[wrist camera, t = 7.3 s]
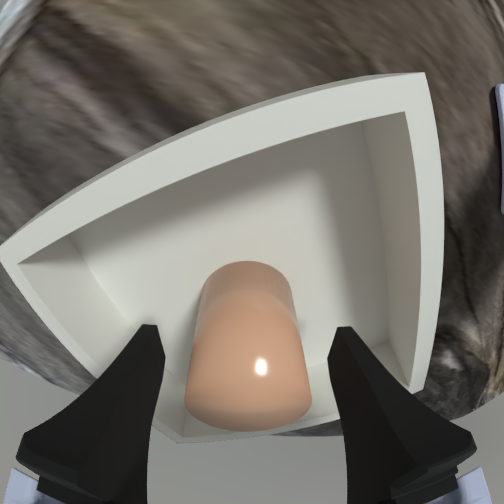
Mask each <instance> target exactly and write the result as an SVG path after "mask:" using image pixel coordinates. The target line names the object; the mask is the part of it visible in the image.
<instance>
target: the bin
mask: <svg viewBox="0 0 504 504" xmlns="http://www.w3.org/2000/svg"><path fill="white" fill-rule="evenodd" d="M443 254H444V199H443V182H442V169H441V159H440V151H439V143H438V136H437V129H436V123H435V118H434V112H433V107H432V102H431V97H430V93H429V89H428V84H427V80H426V76H425V73H396V74H381V75H369V76H361V77H356V78H351V79H346V80H341V81H336V82H332V83H328V84H323V85H319V86H315V87H311V88H307V89H303V90H300V91H296V92H292V93H289V94H285V95H282V96H279V97H275V98H272V99H269V100H266V101H262V102H259V103H256V104H253V105H250V106H247V107H244V108H242V109H239V110H236V111H233V112H230V113H228V114H225V115H222V116H220V117H217V118H215V119H212V120H210V121H207V122H205V123H202V124H200V125H197V126H195V127H192V128H190V129H188V130H185V131H183V132H181V133H179V134H176V135H174V136H172V137H170V138H167V139H165V140H163V141H161V142H159V143H157V144H155V145H153V146H151V147H149V148H147V149H144V150H142V151H140V152H139V153H137V154H135V155H133V156H131V157H129V158H127V159H125V160H123V161H121V162H119V163H118V164H116V165H114V166H112V167H110V168H109V169H107V170H105V171H103V172H101V173H100V174H98V175H96V176H95V177H93V178H91V179H90V180H88V181H86V182H85V183H83V184H81V185H80V186H78V187H76V188H75V189H73V190H72V191H70V192H69V193H67V194H65V195H64V196H62V197H61V198H59V199H58V200H56V201H55V202H53V203H52V204H50V205H49V206H48V207H46V208H45V209H44V210H42V211H41V212H40V213H38V214H37V215H36V216H35V217H33V218H32V219H31V220H30V221H28V222H27V223H26V224H25V225H24V226H22V227H21V228H20V229H19V230H18V231H16V232H15V233H14V234H13V235H12V236H11V237H10V238H8V239H7V240H6V241H5V242H4V243H3V244H2V245H1V246H0V261H1V263H2V265H3V266H4V268H5V269H6V271H7V272H8V274H9V275H10V277H11V278H12V280H13V281H14V283H15V284H16V286H17V287H18V289H19V290H20V291H21V293H22V294H23V296H24V297H25V298H26V300H27V301H28V302H29V304H30V305H31V306H32V308H33V309H34V310H35V312H36V313H37V314H38V315H39V317H40V318H41V319H42V320H43V322H44V323H45V324H46V325H47V326H48V328H49V329H50V330H51V331H52V332H53V334H54V335H55V336H56V337H57V338H58V339H59V340H60V342H61V343H62V344H63V345H64V346H65V347H66V348H67V349H68V350H69V351H70V352H71V354H72V355H73V356H74V357H75V358H76V359H77V360H78V361H79V362H80V363H81V364H82V365H83V366H84V367H85V368H86V369H87V370H88V371H89V372H90V373H91V374H92V375H93V376H94V377H95V378H96V379H98V378H99V377H100V376H101V374H102V373H103V372H104V371H105V370H106V369H107V368H108V367H109V366H110V364H111V363H112V362H113V361H114V360H115V358H116V357H117V356H118V355H119V353H120V352H121V351H122V350H123V349H124V347H125V346H126V345H127V343H128V342H129V341H130V340H131V338H132V337H133V336H134V334H135V333H136V332H137V330H138V329H139V328H140V326H141V325H142V324H150V325H157V327H158V331H159V334H160V338H161V342H162V346H163V349H164V353H165V356H166V359H165V367H164V374H163V380H162V384H161V388H160V392H159V396H158V400H157V404H156V408H155V412H154V416H153V420H152V426H154V427H155V428H156V429H158V430H159V431H161V432H162V433H163V434H165V435H166V436H168V437H169V438H170V439H172V440H173V441H175V442H176V443H198V442H213V441H225V440H234V439H241V438H250V437H257V436H264V435H270V434H276V433H281V432H287V431H292V430H297V429H301V428H306V427H310V426H314V425H319V424H323V423H326V422H330V421H334V420H338V419H340V416H339V412H338V408H337V405H336V401H335V397H334V393H333V390H332V386H331V382H330V377H329V370H328V362H327V357H328V354H329V351H330V348H331V345H332V342H333V339H334V336H335V333H336V329H337V327H344V326H351V327H352V328H353V329H354V330H355V331H356V333H357V334H358V335H359V336H360V338H361V339H362V340H363V341H364V343H365V344H366V345H367V346H368V348H369V349H370V350H371V351H372V353H373V354H374V355H375V356H376V357H377V358H378V360H379V361H380V362H381V363H382V364H383V365H384V367H385V368H386V369H387V370H388V371H389V372H390V373H391V374H392V375H393V376H394V378H395V379H396V380H397V381H398V382H399V383H400V384H401V385H402V386H403V387H405V388H406V389H407V390H408V391H409V392H410V393H411V394H413V393H415V392H418V391H420V390H422V389H423V387H424V383H425V379H426V375H427V371H428V366H429V362H430V357H431V352H432V347H433V342H434V337H435V331H436V325H437V318H438V311H439V303H440V294H441V284H442V272H443ZM238 261H256V262H261V263H264V264H267V265H269V266H272V267H274V268H275V269H277V270H278V271H279V272H281V273H282V274H283V275H284V276H285V278H286V279H287V281H288V282H289V284H290V287H291V291H292V296H293V301H294V306H295V311H296V316H297V321H298V326H299V331H300V336H301V341H302V346H303V352H304V357H305V362H306V368H307V373H308V379H309V384H310V390H311V395H312V404H311V407H310V408H309V410H308V411H307V412H306V413H305V414H304V415H303V416H302V417H300V418H299V419H297V420H296V421H294V422H292V423H290V424H287V425H285V426H282V427H278V428H274V429H270V430H264V431H253V432H242V431H231V430H225V429H220V428H216V427H213V426H210V425H208V424H205V423H203V422H201V421H199V420H198V419H196V418H195V417H193V416H192V415H191V414H190V413H189V412H188V410H187V409H186V407H185V404H184V396H185V389H186V383H187V376H188V370H189V363H190V357H191V351H192V345H193V339H194V333H195V328H196V322H197V316H198V311H199V305H200V300H201V294H202V289H203V286H204V284H205V282H206V280H207V278H208V277H209V276H210V275H211V274H212V273H213V272H214V271H216V270H217V269H219V268H220V267H222V266H224V265H227V264H230V263H233V262H238Z"/></svg>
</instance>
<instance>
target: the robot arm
mask: <svg viewBox="0 0 504 504" xmlns="http://www.w3.org/2000/svg"><path fill="white" fill-rule="evenodd" d="M495 94H496V100H497V107H498V114H499V123H500V134H501V149H502V199H501V212H502V214H503V215H504V84H497V85H496V88H495ZM165 359H166V356H165V353H164V349H163V346H162V342H161V338H160V334H159V331H158V327H157V325H150V324H142V325H141V326H140V328H139V329H138V330H137V332H136V333H135V334H134V336H133V337H132V338H131V340H130V341H129V342H128V343H127V345H126V346H125V347H124V349H123V350H122V351H121V352H120V353H119V355H118V356H117V357H116V358H115V360H114V361H113V362H112V363H111V364H110V366H109V367H108V368H107V369H106V370H105V371H104V372H103V373H102V374H101V376H100V377H99V378H98V379H97V380H96V381H95V382H94V383H93V384H92V385H91V386H90V387H89V388H88V389H87V390H86V391H85V392H84V393H83V394H81V395H80V396H79V397H78V398H77V399H76V400H74V401H73V402H72V403H71V404H70V405H68V406H67V407H66V408H64V409H63V410H62V411H60V412H59V413H57V414H56V415H55V416H53V417H52V418H50V419H49V420H47V421H46V422H44V423H42V424H40V425H39V426H37V427H35V428H33V429H31V430H29V431H27V432H25V433H24V435H23V438H22V440H21V443H20V446H19V449H18V452H17V455H16V459H17V461H18V462H19V463H21V464H22V465H23V466H25V467H27V468H28V469H30V470H31V471H33V472H34V473H36V474H38V475H39V476H40V477H39V481H38V480H36V479H34V478H32V477H31V476H29V475H27V474H25V473H23V472H21V471H19V470H18V469H16V468H12V471H11V474H10V478H9V482H8V485H7V490H6V494H5V498H4V502H3V504H147V463H148V449H149V439H150V431H151V425H152V420H153V416H154V412H155V408H156V404H157V400H158V396H159V392H160V388H161V384H162V380H163V374H164V367H165ZM327 362H328V370H329V377H330V382H331V386H332V390H333V393H334V397H335V401H336V405H337V408H338V412H339V416H340V420H341V424H342V429H343V435H344V443H345V452H346V464H347V485H348V486H347V492H348V493H347V504H492V502H491V498H490V494H489V491H488V487H487V484H486V481H485V477H484V474H483V471H482V468H481V467H480V466H479V467H477V468H475V469H474V470H472V471H470V472H468V473H466V474H465V475H463V476H461V477H459V478H457V479H456V477H455V474H456V473H458V469H457V465H459V464H460V463H462V462H463V461H465V460H466V459H467V458H469V457H470V456H472V455H473V454H474V453H475V452H476V450H477V447H476V444H475V442H474V439H473V437H472V434H471V432H469V431H467V430H465V429H463V428H461V427H459V426H457V425H455V424H453V423H452V422H450V421H448V420H447V419H445V418H443V417H442V416H440V415H439V414H437V413H436V412H434V411H433V410H431V409H430V408H429V407H427V406H426V405H425V404H423V403H422V402H421V401H419V400H418V399H417V398H416V397H415V396H413V395H412V394H411V393H410V392H409V391H408V390H407V389H406V388H405V387H403V386H402V385H401V384H400V383H399V382H398V381H397V380H396V379H395V378H394V376H393V375H392V374H391V373H390V372H389V371H388V370H387V369H386V368H385V367H384V365H383V364H382V363H381V362H380V361H379V360H378V358H377V357H376V356H375V355H374V354H373V353H372V351H371V350H370V349H369V348H368V346H367V345H366V344H365V343H364V341H363V340H362V339H361V338H360V336H359V335H358V334H357V333H356V331H355V330H354V329H353V328H352V327H351V326H344V327H337V329H336V333H335V336H334V339H333V342H332V345H331V348H330V351H329V354H328V357H327Z"/></svg>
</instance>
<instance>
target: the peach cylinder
mask: <svg viewBox="0 0 504 504" xmlns="http://www.w3.org/2000/svg"><path fill="white" fill-rule="evenodd" d="M184 404H185V407H186V409H187V410H188V412H189V413H190V414H191V415H192V416H193V417H195V418H196V419H198V420H199V421H201V422H203V423H205V424H208V425H210V426H213V427H216V428H220V429H225V430H231V431H242V432H253V431H264V430H270V429H274V428H278V427H282V426H285V425H287V424H290V423H292V422H294V421H296V420H297V419H299V418H300V417H302V416H303V415H304V414H305V413H306V412H307V411H308V410H309V408H310V407H311V404H312V395H311V390H310V384H309V379H308V373H307V368H306V362H305V357H304V352H303V346H302V341H301V336H300V331H299V326H298V321H297V316H296V311H295V306H294V301H293V296H292V291H291V287H290V284H289V282H288V281H287V279H286V278H285V276H284V275H283V274H282V273H281V272H279V271H278V270H277V269H275V268H274V267H272V266H269V265H267V264H264V263H261V262H256V261H238V262H233V263H230V264H227V265H224V266H222V267H220V268H219V269H217V270H216V271H214V272H213V273H212V274H211V275H210V276H209V277H208V278H207V280H206V282H205V284H204V286H203V289H202V294H201V300H200V305H199V311H198V316H197V322H196V328H195V333H194V339H193V345H192V351H191V357H190V363H189V370H188V376H187V383H186V389H185V396H184Z"/></svg>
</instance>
